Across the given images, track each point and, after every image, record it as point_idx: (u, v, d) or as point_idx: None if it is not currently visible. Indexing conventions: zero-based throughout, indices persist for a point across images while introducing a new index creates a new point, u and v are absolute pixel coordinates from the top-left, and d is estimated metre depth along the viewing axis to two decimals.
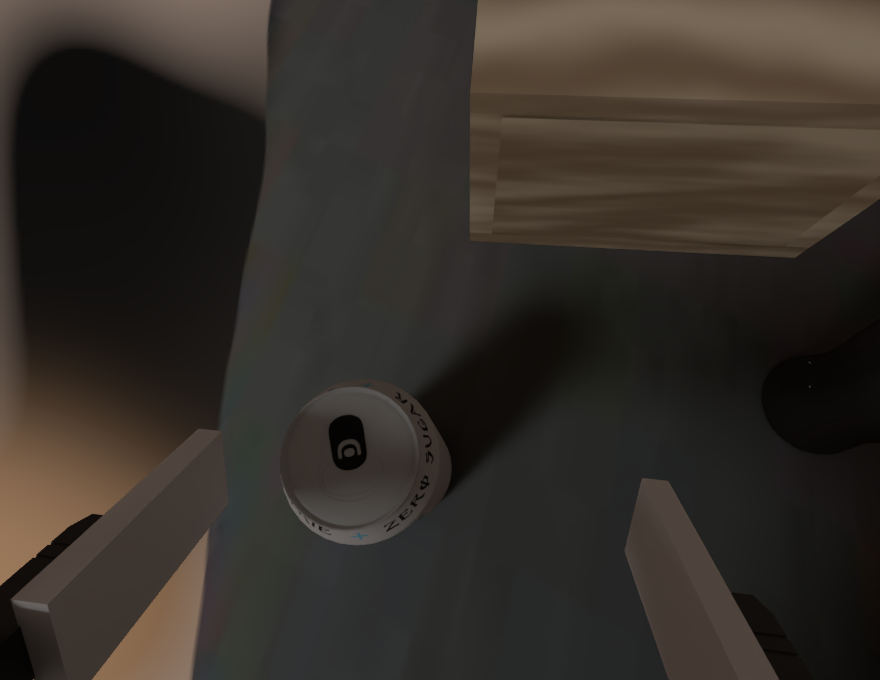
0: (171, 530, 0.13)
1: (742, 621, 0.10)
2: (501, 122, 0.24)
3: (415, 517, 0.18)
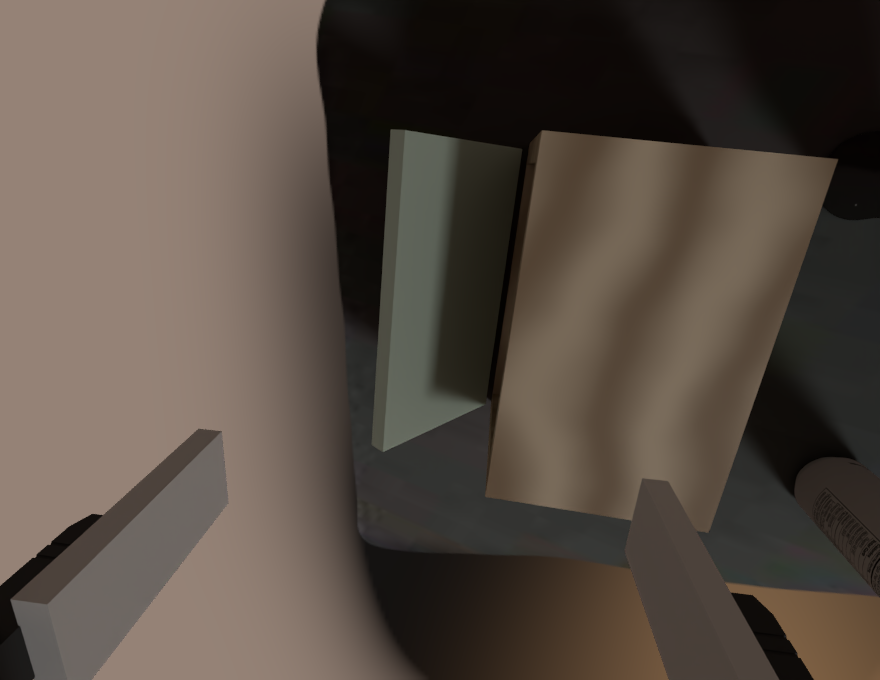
0: (171, 530, 0.13)
1: (742, 621, 0.10)
2: None
3: None
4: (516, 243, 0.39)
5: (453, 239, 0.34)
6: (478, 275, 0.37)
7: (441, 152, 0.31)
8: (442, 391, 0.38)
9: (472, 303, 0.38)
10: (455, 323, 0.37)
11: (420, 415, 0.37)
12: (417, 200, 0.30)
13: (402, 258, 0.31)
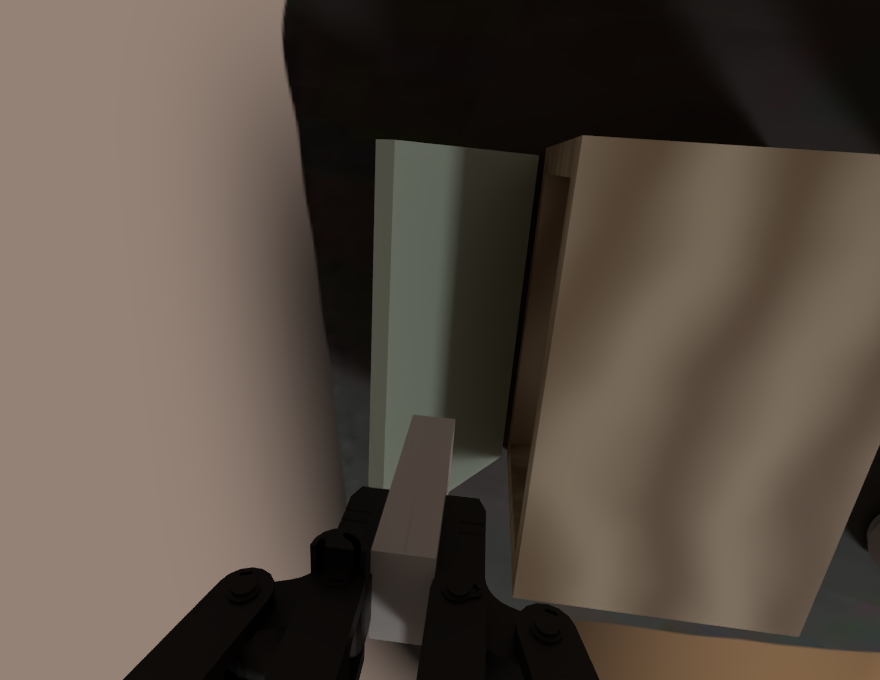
0: None
1: (439, 508, 0.13)
2: None
3: None
4: (534, 268, 0.32)
5: (460, 272, 0.27)
6: (490, 311, 0.30)
7: (442, 165, 0.24)
8: None
9: (484, 345, 0.31)
10: (464, 371, 0.30)
11: None
12: (414, 229, 0.23)
13: (397, 303, 0.24)
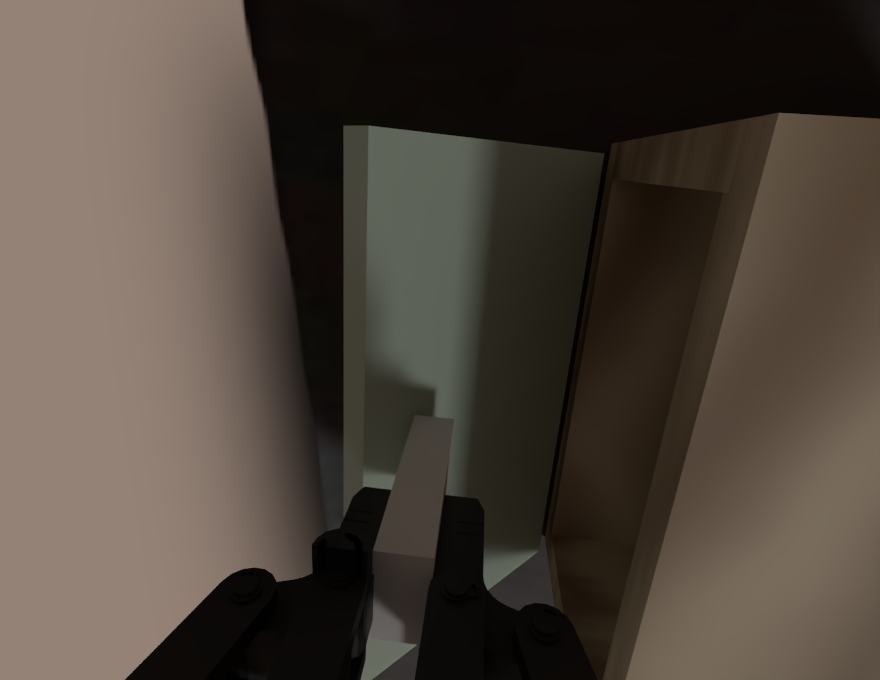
0: None
1: (437, 508, 0.13)
2: None
3: None
4: (592, 310, 0.23)
5: (481, 323, 0.19)
6: (527, 372, 0.22)
7: (453, 168, 0.15)
8: None
9: (517, 417, 0.22)
10: (487, 455, 0.22)
11: None
12: (405, 265, 0.15)
13: (378, 376, 0.16)
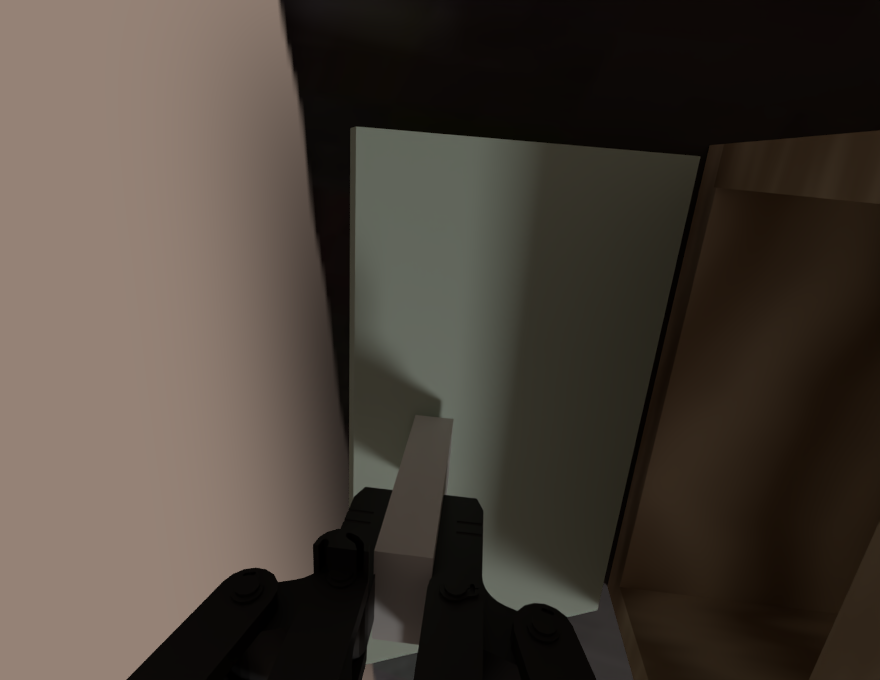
0: None
1: (436, 508, 0.13)
2: None
3: None
4: (681, 338, 0.20)
5: (503, 334, 0.18)
6: (574, 399, 0.19)
7: (461, 168, 0.15)
8: (489, 586, 0.22)
9: (560, 447, 0.20)
10: (515, 479, 0.20)
11: None
12: (401, 263, 0.16)
13: (370, 367, 0.16)
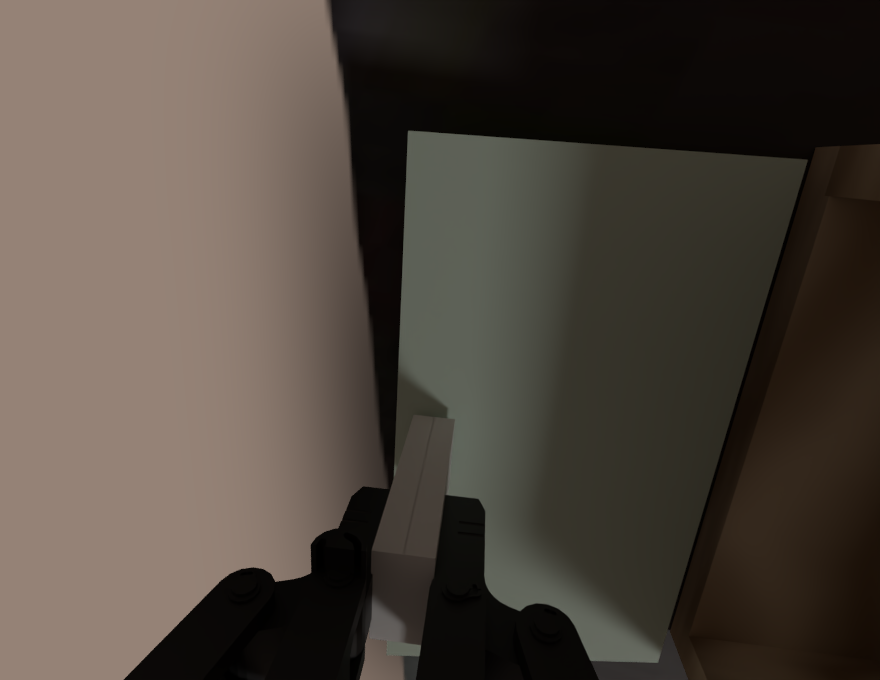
0: None
1: (439, 508, 0.13)
2: None
3: None
4: (777, 366, 0.18)
5: (554, 344, 0.17)
6: (635, 423, 0.18)
7: (513, 172, 0.15)
8: None
9: (617, 473, 0.19)
10: (563, 500, 0.19)
11: None
12: (448, 264, 0.16)
13: (414, 364, 0.17)
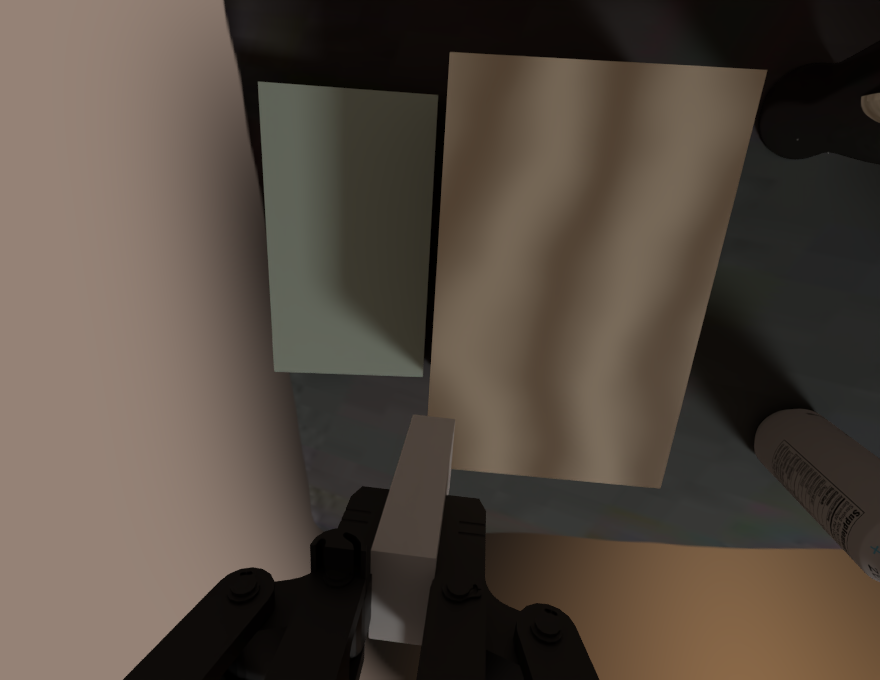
0: None
1: (439, 508, 0.13)
2: None
3: None
4: None
5: (338, 186, 0.35)
6: (384, 228, 0.37)
7: (307, 100, 0.34)
8: (348, 340, 0.40)
9: (380, 257, 0.37)
10: (355, 273, 0.38)
11: (319, 353, 0.40)
12: (282, 144, 0.34)
13: (272, 196, 0.36)
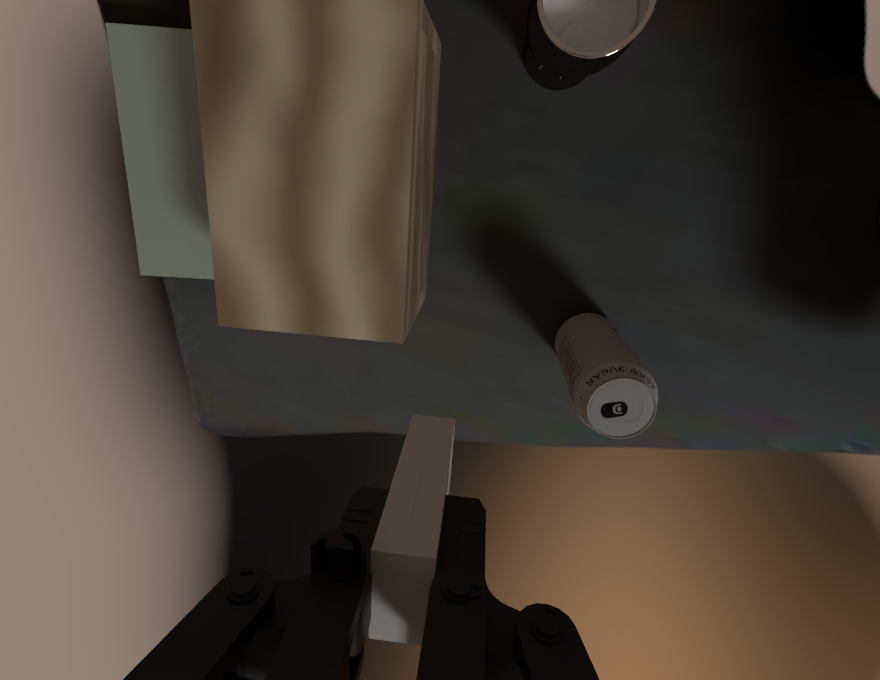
0: None
1: (439, 508, 0.13)
2: (407, 317, 0.38)
3: (648, 373, 0.36)
4: None
5: (179, 112, 0.43)
6: None
7: (146, 38, 0.41)
8: (200, 247, 0.47)
9: None
10: (201, 188, 0.45)
11: (177, 259, 0.47)
12: (130, 76, 0.42)
13: (125, 120, 0.43)
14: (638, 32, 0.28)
